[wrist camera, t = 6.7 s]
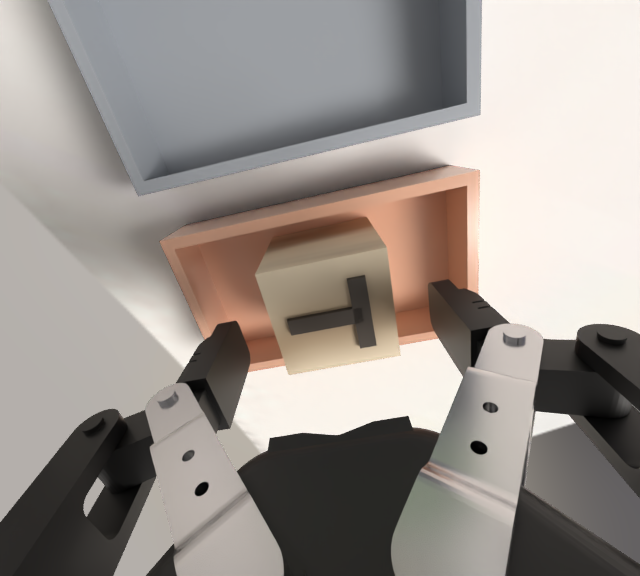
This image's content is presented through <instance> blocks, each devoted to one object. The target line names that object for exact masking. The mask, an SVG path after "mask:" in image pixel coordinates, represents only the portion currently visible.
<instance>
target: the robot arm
mask: <svg viewBox="0 0 640 576" xmlns="http://www.w3.org/2000/svg"><path fill="white" fill-rule="evenodd" d="M428 298H429V311H430V320H431V324H432V327H433V330H434V332H435V333H436V335H437V336H438V338H439V340H440V341H441V343H442V344H443V346H444V347H445V349H446V351H447V352H448V354H449V355H450V357H451V358H452V360H453V362H454V363H455V365H456V366H457V368H458V369H459V371H460V373H461V374H462V376H463V379H462V382H461V384H460V387H459V389H458V392H457V394H456V396H455V399H454V401H453V404H452V406H451V409H450V411H449V414H448V416H447V419H446V421H445V423H444V426H443V428H442V431H441V433H437V432H434V431H431V430H427V429H422V428H413V427H412V426H411V423H410V420H409V417H408V416H405V417H399V418H392V419H386V420H380V421H374V422H371V423H369V424H366V425H364V426H361V427H359V428H356V429H354V430H351V431H349V432H346V433H344V434H341V435H324V434H311V433H299V434H293V435H287V436H281V437H274V438H270V441H269V447H268V451H266V452H263V453H261V454H260V455H258V456H256V457H254V458H253V459H251V460H250V461H248V462H247V463H246V464H245V465H243V466H242V467H241V468H240V469H239V470H238V471H236V469H235V467H234V466H233V464H232V462H231V460H230V459H229V457H228V455H227V453H226V452H225V450H224V448H223V446H222V444H221V443H220V441H219V439H218V437H217V435H216V433H217V430H223V429H230V427H231V424H232V421H233V418H234V414H235V411H236V408H237V405H238V402H239V398H240V395H241V392H242V389H243V386H244V382H245V379H246V376H247V373H248V370H249V366H250V352H249V349H248V346H247V344H246V341H245V339H244V336H243V333H242V331H241V328H240V326H239V324H238V322H237V321H230V322H225V323H220V324H217V326H216V327H215V329H214V331H213V333H212V334H211V336H210V337H208V338H206V339H205V340H204V341H203V342H202V343H201V344H200V345H199V346H198V347H197V349H196V351H195V352H194V354H193V355H194V356H192V357H191V359H190V361H189V363H188V364H187V366H186V367H185V369H184V371H183V372H182V374H181V376H180V377H179V379H178V381H177V382H176V384H173V385H170V386H168V387H165V388H163V389H162V390H160V391H159V392H157V393H156V394H155V395H154V396H153V397H152V398H151V399H150V400H149V401H148V403H147V404H146V407H145V410H144V411H141V412H140V413H137V414H134V415H131V416H129V417H126V418H124V419H123V417H122V416H121V414H120V413H119V412H118V410H116V409H108V410H104V411H102V412H99V413H97V414H95V415H93V416H91V417H90V418H88V419H87V420H85V421H84V422H83V423H82V424H80V425H79V426H78V427H77V428H76V429H75V430H74V432H73V433H72V434H71V435H70V436H69V438H68V439H67V440H66V441H65V443H64V444H63V445H62V446H61V448H60V449H59V450H58V451H57V453H56V454H55V455H54V457H53V458H52V459H51V460H50V461H49V463H48V464H47V465H46V466H45V468H44V469H43V470H42V471H41V473H40V474H39V475H38V476H37V477H36V479H35V480H34V481H33V483H32V484H31V485H30V486H29V488H28V489H27V490H26V491H25V493H24V494H23V495H22V496H21V497H20V499H19V500H18V501H17V502H16V504H15V505H14V506H13V507H12V509H11V510H10V511H9V512H8V514H7V515H6V516H5V517H4V519H3V520H2V521H1V522H0V576H113V575H114V572H115V570H116V568H117V565H118V563H119V561H120V559H121V556H122V554H123V552H124V550H125V547H126V545H127V543H128V540H129V538H130V536H131V533H132V531H133V529H134V527H135V524H136V522H137V520H138V517H139V515H140V513H141V511H142V508H143V506H144V503H145V501H146V499H147V497H148V495H149V492H150V490H151V488H152V485H153V483H154V481H155V479H156V476H157V479H158V483H159V486H160V491H161V494H162V498H163V503H164V506H165V510H166V514H167V518H168V522H169V526H170V530H171V534H172V538H173V542H174V544H173V545H172V546H171V547H170V548H169V550H168V551H167V552H166V553H165V554H164V555H163V556H162V558H161V559H160V560H159V561H158V562H157V563H156V565H155V566H154V567H153V568H152V569H151V570H150V571H149V573H148V574H147V575H146V576H640V564H639V563H637V562H636V561H634V560H633V559H631V558H630V557H628V556H627V555H625V554H624V553H622V552H621V551H619V550H617V549H616V548H615V547H613V546H612V545H610V544H609V543H607V542H606V541H604V540H603V539H601V538H600V537H598V536H597V535H595V534H594V533H592V532H591V531H589V530H588V529H586V528H585V527H583V526H582V525H580V524H579V523H577V522H576V521H574V520H573V519H571V518H570V517H568V516H567V515H565V514H564V513H562V512H561V511H559V510H558V509H556V508H555V507H553V506H552V505H550V504H549V503H547V502H546V501H544V500H543V499H541V498H540V497H538V496H537V495H536V494H534V493H532V492H531V491H530V490H528V489H527V488H525V483H526V476H527V468H528V460H529V453H530V446H531V439H532V433H533V426H534V419H535V412H536V411H539V412H549V413H560V414H569V416H570V417H571V418H572V419H573V420H574V422H575V423H576V424H577V425H578V426H579V427H580V429H581V430H582V431H583V432H584V433H585V434H586V436H587V437H588V438H589V439H590V440H591V442H592V443H593V444H594V445H595V446H596V447H597V448H598V450H599V451H600V452H601V453H602V454H603V456H604V457H605V458H606V459H607V460H608V461H609V463H610V464H611V465H612V466H613V467H614V469H615V470H616V471H617V472H618V473H619V474H620V476H621V477H622V478H623V479H624V480H625V481H626V483H627V484H628V485H629V486H630V487H631V489H632V490H633V491H634V492H635V493H636V494H637V496H638V497H639V498H640V412H638V411H637V410H636V409H635V408H634V407H633V406H632V404H633V405H634V406H635V407H636V408H637V409H638V410H639V411H640V334H638V333H636V332H634V331H632V330H629V329H626V328H623V327H620V326H615V325H608V324H592V325H587V326H584V327H582V328H580V329H579V330H578V332H577V337H576V340H551V339H543V337H542V335H541V334H540V333H539V332H537V331H536V330H534V329H532V328H530V327H527V326H524V325H519V324H510V323H509V322H508V321H507V320H506V319H504V318H503V317H502V316H501V315H500V314H499V313H498V312H497V311H496V310H495V309H494V308H492V307H490V305H489V304H488V303H487V302H486V301H484V299H483V298H482V297H480V296H479V295H478V294H477V293H475V292H473V291H470V290H468V289H466V288H463V289H458V288H457V287H456V286H455V285H454V284H453V283H452V282H451V281H450V280H449V279H446V280H441V281H436V282H430V283H429V284H428ZM97 477H98V478H99V479H100V480H101V481H102V482H103V484H104V485H105V487H104V488H103V490H102V492H101V493H100V495H99V497H98V498H97V500H96V502H95V504H94V506H93V507H92V509H91V511H90V512H89V514H88V516H87V517H86V516H85V514H84V511H83V504H84V500H85V497H86V495H87V493H88V492H89V490H90V488H91V487H92V485H93V484H94V482H95V480H96V479H97Z"/></svg>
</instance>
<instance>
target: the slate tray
mask: <svg viewBox="0 0 640 576" xmlns="http://www.w3.org/2000/svg"><path fill="white" fill-rule="evenodd" d="M48 3H49V5H50V7H51V9H52V11H53V13H54V16H55V18H56V20H57V22H58V24H59V26H60V28H61V31H62V33H63V35H64V37H65V39H66V41H67V44H68V46H69V48H70V50H71V52H72V54H73V57H74V59H75V61H76V63H77V65H78V67H79V69H80V72H81V74H82V76H83V78H84V80H85V82H86V85H87V87H88V89H89V91H90V93H91V95H92V98H93V100H94V102H95V104H96V106H97V108H98V111H99V113H100V115H101V117H102V119H103V121H104V123H105V126H106V128H107V130H108V132H109V134H110V136H111V139H112V141H113V143H114V145H115V147H116V149H117V152H118V154H119V156H120V158H121V160H122V162H123V164H124V167H125V169H126V171H127V173H128V175H129V177H130V180H131V182H132V184H133V186H134V188H135V190H136V193H137V195H138V196H141V195H145V194H150V193H154V192H158V191H162V190H166V189H171V188H175V187H179V186H183V185H187V184H192V183H196V182H200V181H204V180H208V179H213V178H217V177H221V176H225V175H230V174H234V173H238V172H242V171H246V170H251V169H255V168H259V167H263V166H267V165H272V164H276V163H280V162H284V161H288V160H293V159H297V158H301V157H305V156H309V155H314V154H318V153H322V152H326V151H331V150H335V149H339V148H343V147H347V146H352V145H356V144H360V143H364V142H368V141H373V140H377V139H381V138H385V137H389V136H394V135H398V134H402V133H406V132H410V131H415V130H419V129H423V128H427V127H432V126H436V125H440V124H444V123H448V122H453V121H457V120H461V119H465V118H469V117H474V116H478V115H480V107H481V25H482V0H48Z"/></svg>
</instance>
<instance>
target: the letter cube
mask: <svg viewBox="0 0 640 576" xmlns="http://www.w3.org/2000/svg"><path fill="white" fill-rule="evenodd" d="M255 276H256V279H257V282H258V285H259V288H260V291H261V294H262V297H263V300H264V303H265V306H266V309H267V312H268V315H269V318H270V321H271V324H272V327H273V330H274V333H275V336H276V339H277V342H278V345H279V348H280V350H281V353H282V356H283V359H284V362H285V365H286V368H287V371H288V374H289V375H292V374H297V373H303V372H309V371H315V370H320V369H326V368H332V367H338V366H343V365H349V364H355V363H361V362H366V361H372V360H378V359H384V358H389V357H395V356H401V355H400V347H399V340H398V332H397V324H396V316H395V308H394V300H393V292H392V284H391V276H390V268H389V260H388V252H387V247H386V245H385V244H384V242H383V241H382V239H381V238H380V236H379V235H378V233H377V232H376V230H375V229H374V227H373V226H372V224H371V222H370V221H369V219H368V218H367V217H364V218H360V219H355V220H350V221H346V222H341V223H337V224H332V225H327V226H323V227H318V228H313V229H309V230H304V231H299V232H295V233H290V234H286V235H281V236H276V237H273V238H272V240H271V242H270V244H269V246H268V248H267V250H266V252H265V255H264V257H263V259H262V261H261V263H260V265H259V267H258V269H257V271H256V273H255Z"/></svg>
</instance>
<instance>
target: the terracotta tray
mask: <svg viewBox="0 0 640 576" xmlns="http://www.w3.org/2000/svg"><path fill="white" fill-rule="evenodd" d="M479 189H480V170H476V169H470V168H464V167H458V166H452V165H449V166H445V167H441V168H436V169H432V170H427V171H423V172H418V173H414V174H409V175H405V176H401V177H396V178H392V179H387V180H383V181H378V182H374V183H370V184H365V185H361V186H356V187H352V188H347V189H343V190H338V191H334V192H330V193H325V194H321V195H316V196H312V197H307V198H303V199H299V200H294V201H290V202H285V203H281V204H276V205H272V206H267V207H263V208H259V209H254V210H250V211H245V212H241V213H236V214H232V215H228V216H223V217H219V218H214V219H210V220H205V221H201V222H196V223H192V224H188V225H185V226H183V227H182V228H180V229H178V230H177V231H175V232H173V233H172V234H170V235H169V236H167V237H165V238H164V239H162V240H161V241H159V242H160V244H161V247H162V249H163V251H164V253H165V255H166V257H167V259H168V262H169V264H170V266H171V268H172V270H173V272H174V275H175V277H176V279H177V281H178V283H179V285H180V288H181V290H182V292H183V294H184V296H185V298H186V300H187V303H188V305H189V307H190V309H191V311H192V313H193V316H194V318H195V320H196V322H197V324H198V326H199V329H200V331H201V333H202V335H203V337H204V339H206V338H208V337H210V336H211V334H212V333H213V331H214V329H215V327H216V326H217V324H220V323H225V322H230V321H237V322H238V324H239V326H240V328H241V331H242V333H243V336H244V339H245V341H246V344H247V346H248V349H249V352H250V366H249V370H248V372H251V371H257V370H262V369H268V368H274V367H279V366H285V362H284V359H283V356H282V353H281V350H280V348H279V345H278V342H277V339H276V336H275V333H274V330H273V327H272V324H271V321H270V318H269V315H268V312H267V309H266V306H265V303H264V300H263V297H262V294H261V291H260V288H259V285H258V282H257V279H256V276H255V273H256V271H257V269H258V267H259V265H260V263H261V261H262V259H263V257H264V255H265V252H266V250H267V248H268V246H269V244H270V242H271V240H272V238H273V237H276V236H281V235H286V234H290V233H295V232H299V231H304V230H309V229H313V228H318V227H323V226H327V225H332V224H337V223H341V222H346V221H350V220H355V219H360V218H364V217H367V218H368V219H369V221H370V222H371V224H372V226H373V227H374V229H375V230H376V232H377V233H378V235H379V236H380V238H381V239H382V241H383V242H384V244H385V245H386V247H387V252H388V260H389V268H390V276H391V284H392V292H393V300H394V308H395V316H396V324H397V332H398V340H399V345H404V344H409V343H415V342H421V341H426V340H432V339H438V336H437V335H436V333H435V332H434V330H433V327H432V324H431V320H430V311H429V298H428V284H429V283H430V282H436V281H441V280H446V279H449V280H450V281H451V282H452V283H453V284H454V285H455V286H456V287H457V288H458V289H463V288H466V289H468V290H470V291H473V292H475V293H477V294H478V271H479Z"/></svg>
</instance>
